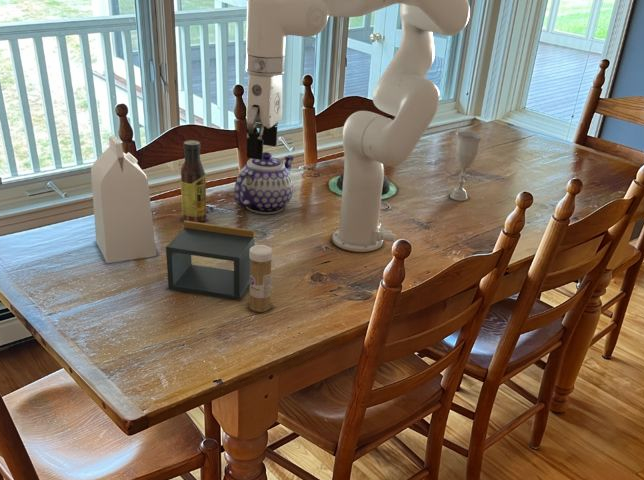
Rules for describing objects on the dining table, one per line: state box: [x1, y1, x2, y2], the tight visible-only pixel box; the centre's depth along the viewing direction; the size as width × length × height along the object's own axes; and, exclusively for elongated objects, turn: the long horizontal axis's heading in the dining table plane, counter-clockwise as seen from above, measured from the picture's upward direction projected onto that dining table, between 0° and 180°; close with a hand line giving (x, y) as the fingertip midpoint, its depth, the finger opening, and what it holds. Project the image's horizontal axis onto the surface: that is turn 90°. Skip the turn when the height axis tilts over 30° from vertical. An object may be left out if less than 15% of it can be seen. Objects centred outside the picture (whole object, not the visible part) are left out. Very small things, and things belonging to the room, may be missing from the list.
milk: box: [90, 134, 157, 264], centre depth 164 cm, size 12×12×26 cm
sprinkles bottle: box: [248, 244, 273, 313], centre depth 147 cm, size 5×5×13 cm
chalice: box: [449, 130, 484, 202], centre depth 204 cm, size 7×7×18 cm
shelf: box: [165, 220, 255, 301], centre depth 156 cm, size 16×11×12 cm
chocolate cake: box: [328, 172, 397, 200], centre depth 211 cm, size 15×19×20 cm
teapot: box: [233, 151, 295, 215], centre depth 192 cm, size 25×15×15 cm, turn 143°
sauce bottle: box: [180, 140, 207, 223], centre depth 182 cm, size 7×6×20 cm
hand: (262, 151), depth 150 cm, fingers open, 9 cm apart
